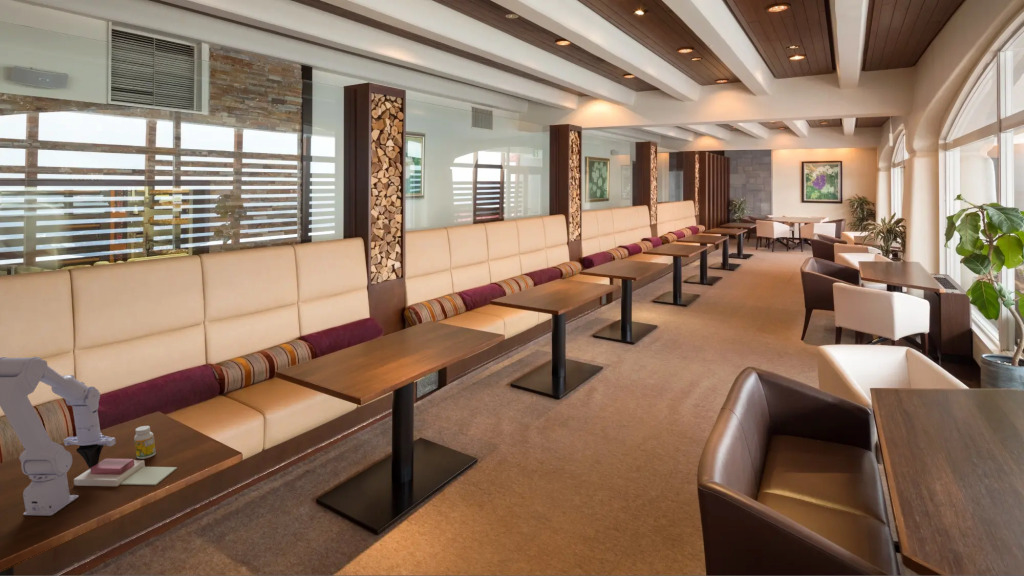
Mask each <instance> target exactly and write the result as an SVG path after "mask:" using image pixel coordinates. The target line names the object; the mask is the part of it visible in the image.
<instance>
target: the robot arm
mask: <svg viewBox="0 0 1024 576" xmlns="http://www.w3.org/2000/svg"><path fill="white" fill-rule="evenodd" d="M75 377H76V376H74V375H73V374H66V375H65V374H64V375H61V374H60V373H58V371H56V370H54V369H53V368H52V367H51V366H49V365H48V361H47V360H45V359H43V358H41V357H39V356H32V357H5V356H4V357H3V356H2V357H0V409H1V411H2V413H4V416H5V417H6V420H7V421H8V422H9V424H10V426H11V427H12V429H13V431H14V433H15V434H16V436H17V438H18V440H19V442H20V444H21V445H22V447H23V449H24V450H23V451H22V452H21V453H20V456H19V457H18V460H19V461H20V463H21V465H20V466H21V467H20V468H21V471H22V473H23V474H24V475H26V476H28V479H29V480H31V482H30V483H29V485H27V486H26V487H25V488H24V489H23V493H22V497H23V503H24V508H25V511H24V512H23V515H24V516H45V517H46V516H49V517H50V516H53V515H54V514H56V513H57V512H58V511H61V510H62V509H63V508H65V507H66V506H67V505H69V504H70V503H72V502H74V501H75V500H77V499H78V498H79V495H78V494H70V488H69V481H68V476H67V475H68V474H67V473H68V472H69V471H70V468H71V467H72V464H73V456H72V453H71V452H70V451H68V450H66V448H65V447H64V446H66V447H67V446H70V445H71V446H75V445H77V446H78V448H77V447H76V453H78V454H79V455H80V456H81V457H82V458H83V460H84V461H85V463H86V465H87V467H88V468H89V469H90V468H91V467H93V466H94V465H96V464H98V463H99V462H100V457H101V453H102V450H103V448H104V446H107V447H112V446H114V445H115V444H116V437H111V436H107V435H103V433H102V432H101V427H100V418H99V412H98V410H99V407H100V406H99V405H100V404H99V402H100V399H101V392H99V389H98V388H96V387H95V386H87V385H86V384H85V382H84V381H79V380H78V379H76V378H75ZM40 382H41V383H43V384H45V385H47V386H50V387H51V391H52V393H54V395H57V396H58V397H60V398H63V399H64V400H65V403H66V405H67V406H71V408H72V412H73V419H74V426H75V433H76V435H75V436H68V437H66V438H64V439H63V442H64V445H62V444H59V443H57V442H55V441H52V439H51V438H50V435H49V434H48V432H47V431H46V428H45V427H44V425H43V422H42V421H41V419H40V417H39V415H38V414H37V412H36V410H35V408H34V406H33V405H32V402H31V400H30V399H29V395H31V394H33V393H34V391H35V389H37V386H38V385H39V383H40Z"/></svg>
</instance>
